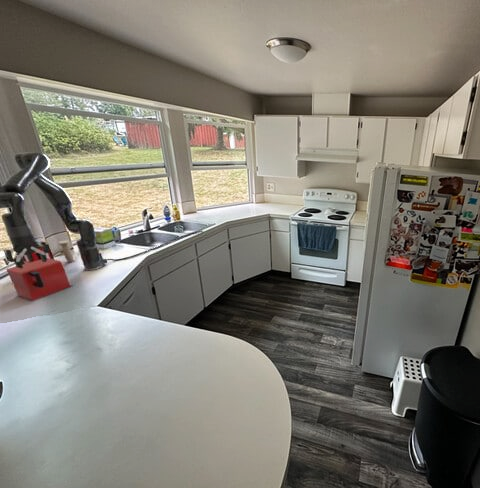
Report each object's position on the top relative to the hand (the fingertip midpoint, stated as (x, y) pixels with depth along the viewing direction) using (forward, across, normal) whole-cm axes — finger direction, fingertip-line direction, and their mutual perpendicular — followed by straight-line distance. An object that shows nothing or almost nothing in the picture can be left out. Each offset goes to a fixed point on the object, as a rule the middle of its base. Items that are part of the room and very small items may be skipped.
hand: (33, 264), depth 125 cm
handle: (+20, +34, +46) cm, 60 cm away
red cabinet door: (+20, +5, +3) cm, 21 cm away
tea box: (+20, +62, +59) cm, 87 cm away
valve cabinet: (+20, +5, +12) cm, 24 cm away
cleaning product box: (+20, +16, +38) cm, 46 cm away
